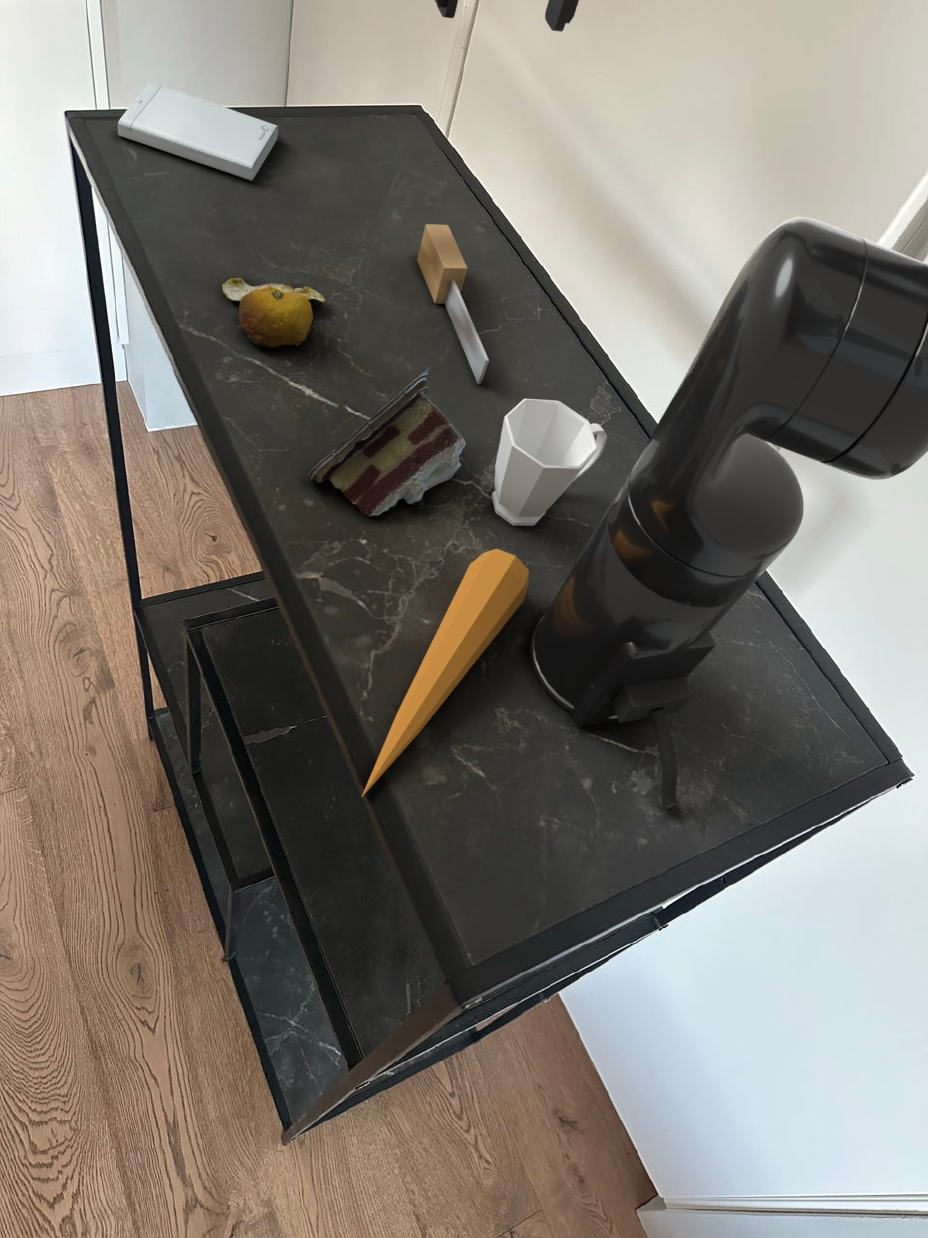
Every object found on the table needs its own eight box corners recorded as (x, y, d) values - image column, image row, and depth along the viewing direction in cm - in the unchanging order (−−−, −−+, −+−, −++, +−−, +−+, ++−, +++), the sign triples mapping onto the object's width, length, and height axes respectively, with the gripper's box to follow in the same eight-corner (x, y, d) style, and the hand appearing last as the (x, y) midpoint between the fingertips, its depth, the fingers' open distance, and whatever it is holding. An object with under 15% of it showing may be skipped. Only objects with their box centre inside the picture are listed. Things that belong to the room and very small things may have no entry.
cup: (457, 484, 70) (485, 408, 63) (556, 451, 74) (592, 378, 68) (506, 552, 67) (540, 481, 61) (606, 514, 72) (647, 444, 65)
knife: (416, 259, 83) (425, 223, 80) (438, 260, 84) (448, 224, 81) (467, 384, 76) (479, 349, 73) (491, 383, 77) (503, 348, 74)
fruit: (321, 291, 77) (326, 255, 74) (328, 359, 73) (334, 323, 70) (221, 281, 75) (223, 242, 72) (223, 350, 71) (224, 312, 68)
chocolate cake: (365, 553, 64) (490, 438, 62) (298, 478, 64) (421, 359, 61) (390, 539, 74) (500, 438, 71) (331, 474, 73) (440, 370, 71)
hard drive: (278, 123, 87) (151, 77, 85) (252, 167, 82) (116, 119, 81) (277, 140, 88) (151, 95, 87) (251, 183, 83) (117, 137, 82)
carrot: (526, 541, 61) (547, 587, 64) (472, 536, 63) (494, 581, 66) (372, 786, 51) (405, 827, 54) (316, 768, 53) (350, 809, 56)
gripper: (658, -281, 56) (569, 4, 69) (444, -341, 51) (391, -21, 64) (709, -232, 52) (604, 58, 65) (484, -291, 47) (420, 36, 60)
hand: (499, 18), depth 65 cm, fingers open, 8 cm apart
